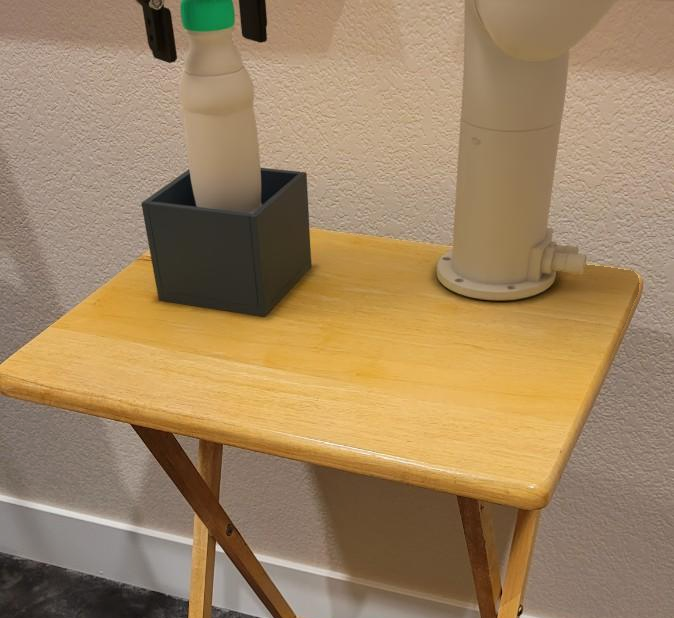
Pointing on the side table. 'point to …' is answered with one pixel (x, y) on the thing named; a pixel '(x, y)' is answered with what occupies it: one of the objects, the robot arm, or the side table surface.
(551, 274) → the robot arm
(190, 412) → the side table surface
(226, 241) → the bin
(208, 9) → the water bottle
